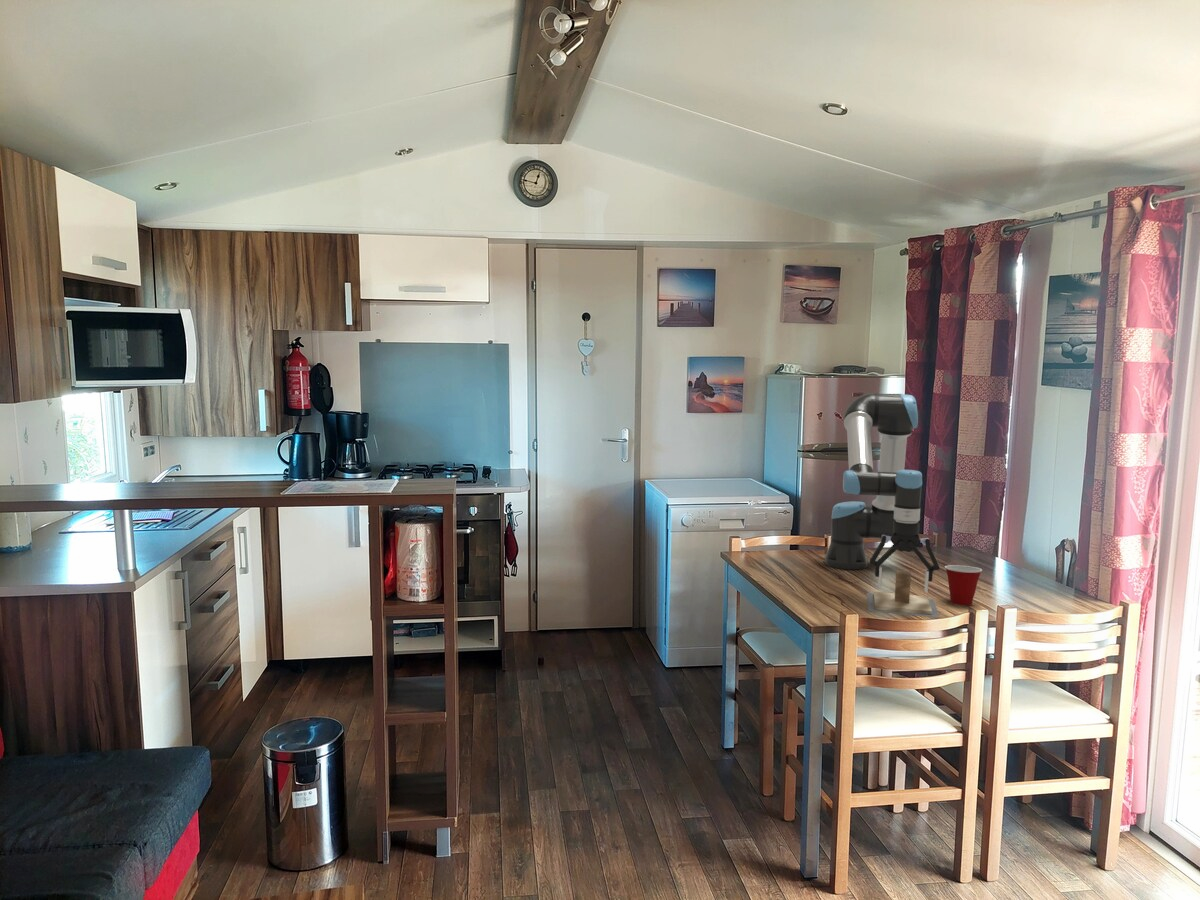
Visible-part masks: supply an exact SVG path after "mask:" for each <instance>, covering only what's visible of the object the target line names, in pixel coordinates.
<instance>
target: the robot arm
mask: <svg viewBox="0 0 1200 900" xmlns="http://www.w3.org/2000/svg"><path fill="white" fill-rule="evenodd" d="M918 423H919V414H918V406H917V400H916V398H915V396H914V395H911V394H904V393H903V394H902V393H872V392H871V393H865V394H862V395H860V396H858V397H856V398H855V399H853V400H852V401H851V402H850V404H849V405H848V406H847V408H846V410H845V411H844V414H843V426H844V428H845V430H846V435H847V436H846V437H847V454H848V455H847V457H848V458H847V459H848V460H847V461H848V470H844V472H843V474H842V475H843V477H842V490H843V493H845V494H850V495H857V496H861V495H864V496H876V498H875V499H873V500H872V501H871V506H867V504H866V503H865V502H864V501H855V500H854V501H843V502H838V503H836V504H835V505H834V506H833V507H832V511H831V517H830V518H831V529H830V542H829V546H828V549H827V552H826V554H825V555H824V556H825V557H824V564H825V565H827V566H828V567H832V568H834V569H835V568H836V569H843V570H863V569H865V568H867V567H868V557H867V554H866V550H865V548H864V539H873V540H875V539H876V540H880V542H879V544H878V545H877V547H876V549H874V550H875V551H874V552H873V554H872V555H871V557H870V559H869V565H871V566H874V567H875V568H874V569H875V570H874V576H875V577H876V578H878V582H877V583H878V584H877V588H878V589H882V574H883V566H882V564H883V563H884V562H885V561H886V560H887V559H888V558H890V556H891V555H892V554H894V553H895V552H896V551H899V552H907V553H910V552H914V553H915V555H916V556H917V557H918V559H919V560H920V561H921V562H922V563H923V565H924V566H925V567H926V569H925V570H924V572H925V573H924V589H923V591H924V594H925V593H926V594H928V593H929V592H928V590H929V582H930V583H931V582H932V581H933V575H934V572H935V571H939V570H940V565H939V562H938V561H937V559H936V557H935V555H934V552H933V550H932V548H931V541H930V538H929V537H925V538H920V522H919V521H921V502H922V489H923V487H922V486H923V473H922V472H921V471H920V470H914V469H905V465H906V453H907V443H908V437H910V436H911V435H912V434H913V429H916V428H918V425H919V424H918ZM873 427H875V428H876V427H877V429H876V430H877V431H876V432H877V433H878V434H880V436H881V438H880V452H879V462H878V463H879V464H878V471H874V464H873V461H874V460H873V452H872V451H873V450H872V449H873V448H872V438H871V437H872V436H871V428H873ZM890 541H891V543H892V545H891V546H890V547H889V548H888V550H886V552H885V553H884V554H882V555H881V556H880V557H879V555H880V554H881V552H882V551H883V549H884V547H885V545H886V544H888V543H889V542H890ZM920 543H922V546H924V547H925V549H926V551H927V553H928V555H929V558H930V560H931V562H932V564H933V565H932V564H930V562H929V561H928V560H927V559H926V557H925V556H924V555H923V553H922V552H921V551H920V549H919V547H918V545H920ZM878 557H879V559H877V558H878Z"/></svg>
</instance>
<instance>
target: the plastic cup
mask: <svg viewBox="0 0 1200 900" xmlns="http://www.w3.org/2000/svg"><path fill="white" fill-rule="evenodd" d="M944 569H945V571H946V575H947V576H946V577H947V581H948V590H949V596H950V597H949V598H950V601H951V603H953V604H956V605H962V606H971V605H972V604H973V601H974V597H975V593H976V589H977V586H978V583H979V578H980V576H981V573H982V572H983V569H982V568H980V567H976V566H969V565H958V564H956V565H955V564H952V565H951V564H950V565H945V566H944Z"/></svg>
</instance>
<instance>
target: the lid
mask: <svg viewBox="0 0 1200 900" xmlns="http://www.w3.org/2000/svg"><path fill="white" fill-rule="evenodd" d="M911 577H912V574H911V571H909V570H908V571H907V570H898V569H896V571H895V586H894V587H895V588H894V592H893V593H892V592H880V591H873V594H874V605H875V610H885V611H895V612H905V613H915V614H926V615H932V609H931V606H930V603H929V600H928V599H929V597H928V596H924V595H914V594H911V579H912V578H911Z"/></svg>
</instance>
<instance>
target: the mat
mask: <svg viewBox="0 0 1200 900" xmlns="http://www.w3.org/2000/svg"><path fill="white" fill-rule="evenodd" d="M866 595H867V596H866V598H867V611H868V612H876V613H886V614H895V615H896V614H897V615H906V616H916V617H917V616H918V617H924V618H926V617H927V618H937V619H939V618H941V617H940V614H939V612H938V609H937V605H936V602H935V599H933V598H928V600H929V603H930V606H931V609H932V615H926V614H915V613H905V612H895V611H885V610H875V605H874V593H873V592H866Z"/></svg>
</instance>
